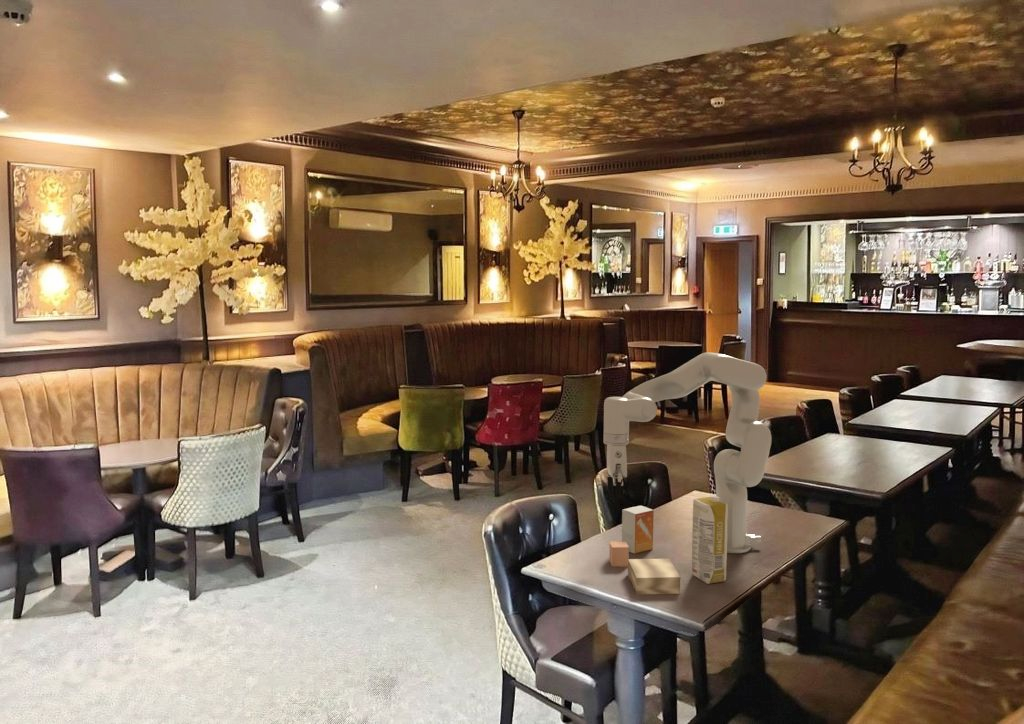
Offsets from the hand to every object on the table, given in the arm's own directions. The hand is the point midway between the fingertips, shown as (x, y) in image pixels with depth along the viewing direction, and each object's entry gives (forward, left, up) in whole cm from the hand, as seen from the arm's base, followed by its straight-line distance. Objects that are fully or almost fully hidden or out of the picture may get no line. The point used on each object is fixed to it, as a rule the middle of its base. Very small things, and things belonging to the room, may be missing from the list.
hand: (615, 493), depth 229 cm
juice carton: (-25, +14, -22) cm, 36 cm away
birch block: (-8, +17, -22) cm, 29 cm away
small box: (-9, -11, -22) cm, 26 cm away
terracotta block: (-1, +1, -21) cm, 21 cm away
